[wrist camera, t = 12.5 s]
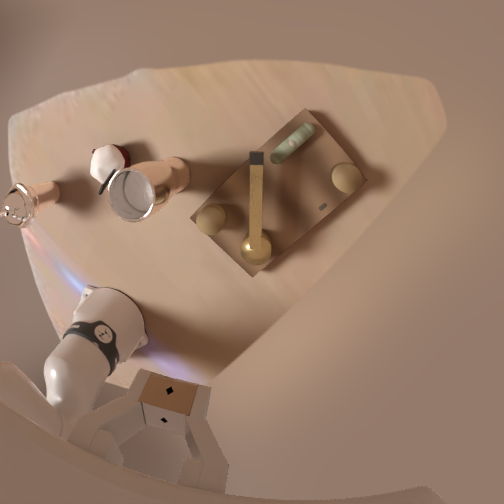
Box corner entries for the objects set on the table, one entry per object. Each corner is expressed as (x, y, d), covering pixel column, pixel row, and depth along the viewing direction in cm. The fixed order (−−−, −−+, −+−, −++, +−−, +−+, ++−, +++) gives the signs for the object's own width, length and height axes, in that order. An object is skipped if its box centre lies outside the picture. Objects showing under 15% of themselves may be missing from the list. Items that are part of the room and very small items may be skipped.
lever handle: (271, 255, 45) (270, 271, 40) (243, 254, 45) (239, 269, 40) (274, 150, 38) (274, 152, 33) (243, 149, 38) (238, 152, 34)
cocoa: (98, 152, 43) (53, 161, 32) (121, 131, 41) (76, 133, 30) (123, 194, 46) (81, 212, 35) (147, 174, 44) (107, 188, 33)
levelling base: (253, 269, 50) (250, 286, 44) (194, 212, 46) (183, 223, 41) (361, 177, 42) (374, 183, 36) (303, 109, 38) (307, 105, 33)
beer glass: (201, 177, 44) (168, 199, 30) (171, 203, 46) (130, 235, 32) (174, 145, 42) (131, 153, 28) (145, 173, 44) (96, 192, 30)
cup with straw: (62, 218, 49) (-5, 258, 30) (36, 201, 47) (-30, 235, 29) (70, 180, 45) (-6, 211, 27) (42, 165, 44) (-31, 190, 26)
